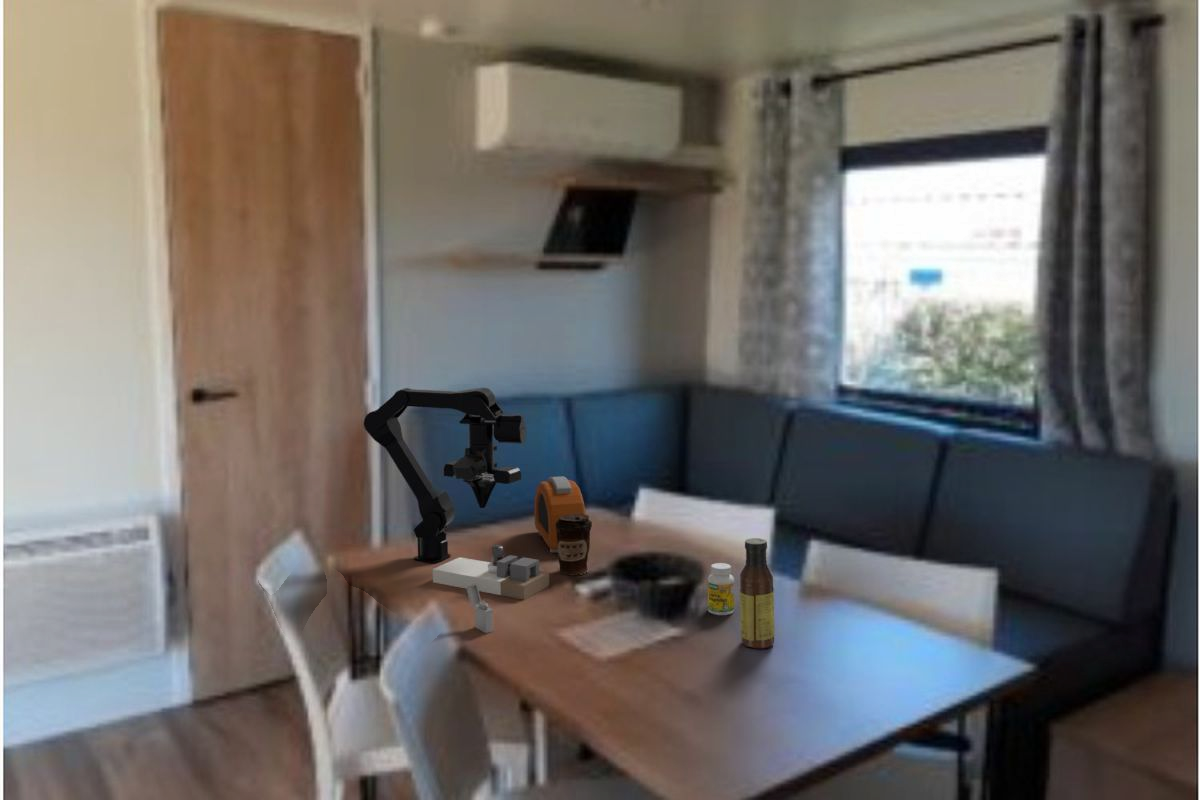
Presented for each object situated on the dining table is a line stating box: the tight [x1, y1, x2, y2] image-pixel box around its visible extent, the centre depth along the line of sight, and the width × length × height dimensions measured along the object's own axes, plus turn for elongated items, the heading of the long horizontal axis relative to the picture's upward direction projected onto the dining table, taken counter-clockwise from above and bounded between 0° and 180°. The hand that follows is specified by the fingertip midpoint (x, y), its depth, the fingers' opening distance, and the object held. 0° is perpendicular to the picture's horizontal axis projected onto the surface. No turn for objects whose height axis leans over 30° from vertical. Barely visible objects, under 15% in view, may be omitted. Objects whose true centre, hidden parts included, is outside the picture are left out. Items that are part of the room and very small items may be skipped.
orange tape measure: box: [534, 475, 587, 553], centre depth 252 cm, size 23×9×17 cm, turn 14°
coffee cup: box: [555, 514, 593, 576], centre depth 229 cm, size 9×8×13 cm
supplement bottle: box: [707, 562, 735, 616], centre depth 204 cm, size 5×5×10 cm
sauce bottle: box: [739, 537, 776, 650], centre depth 186 cm, size 6×6×20 cm
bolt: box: [488, 544, 531, 577], centre depth 218 cm, size 10×2×6 cm, turn 62°
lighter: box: [465, 584, 494, 634], centre depth 196 cm, size 7×2×8 cm, turn 39°
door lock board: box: [432, 554, 550, 600], centre depth 221 cm, size 24×10×6 cm, turn 62°
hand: (482, 507), depth 236 cm, fingers closed
